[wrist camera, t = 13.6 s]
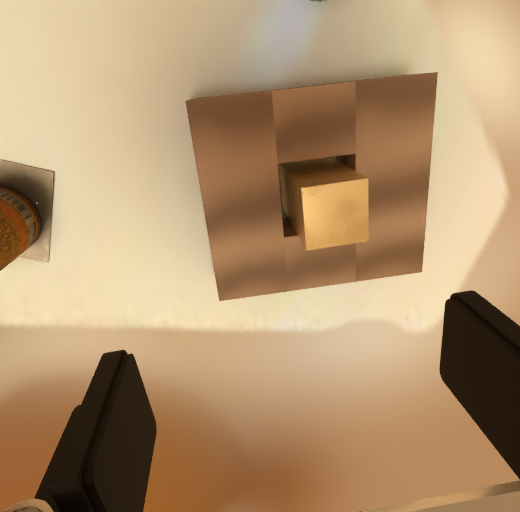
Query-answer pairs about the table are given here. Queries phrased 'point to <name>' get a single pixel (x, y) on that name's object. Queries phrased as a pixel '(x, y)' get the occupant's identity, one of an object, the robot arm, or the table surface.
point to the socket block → (304, 148)
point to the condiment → (24, 212)
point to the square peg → (325, 202)
